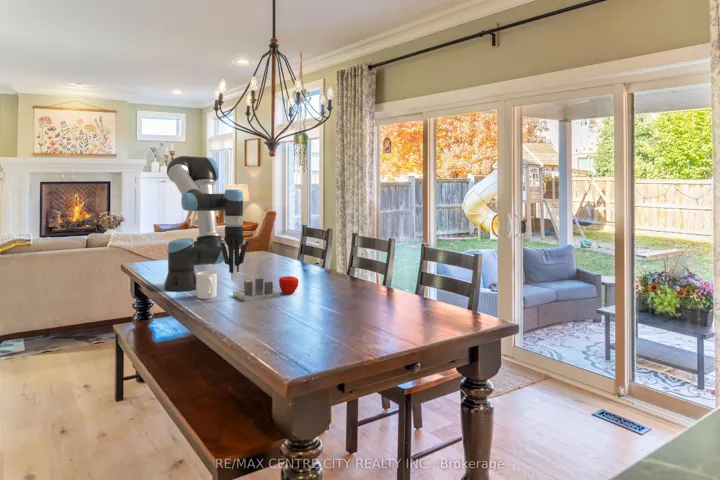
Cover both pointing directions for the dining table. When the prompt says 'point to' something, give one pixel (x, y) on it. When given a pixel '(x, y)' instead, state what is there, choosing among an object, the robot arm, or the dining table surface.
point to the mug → (206, 285)
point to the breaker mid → (248, 287)
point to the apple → (288, 284)
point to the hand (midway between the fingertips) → (233, 280)
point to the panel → (255, 295)
